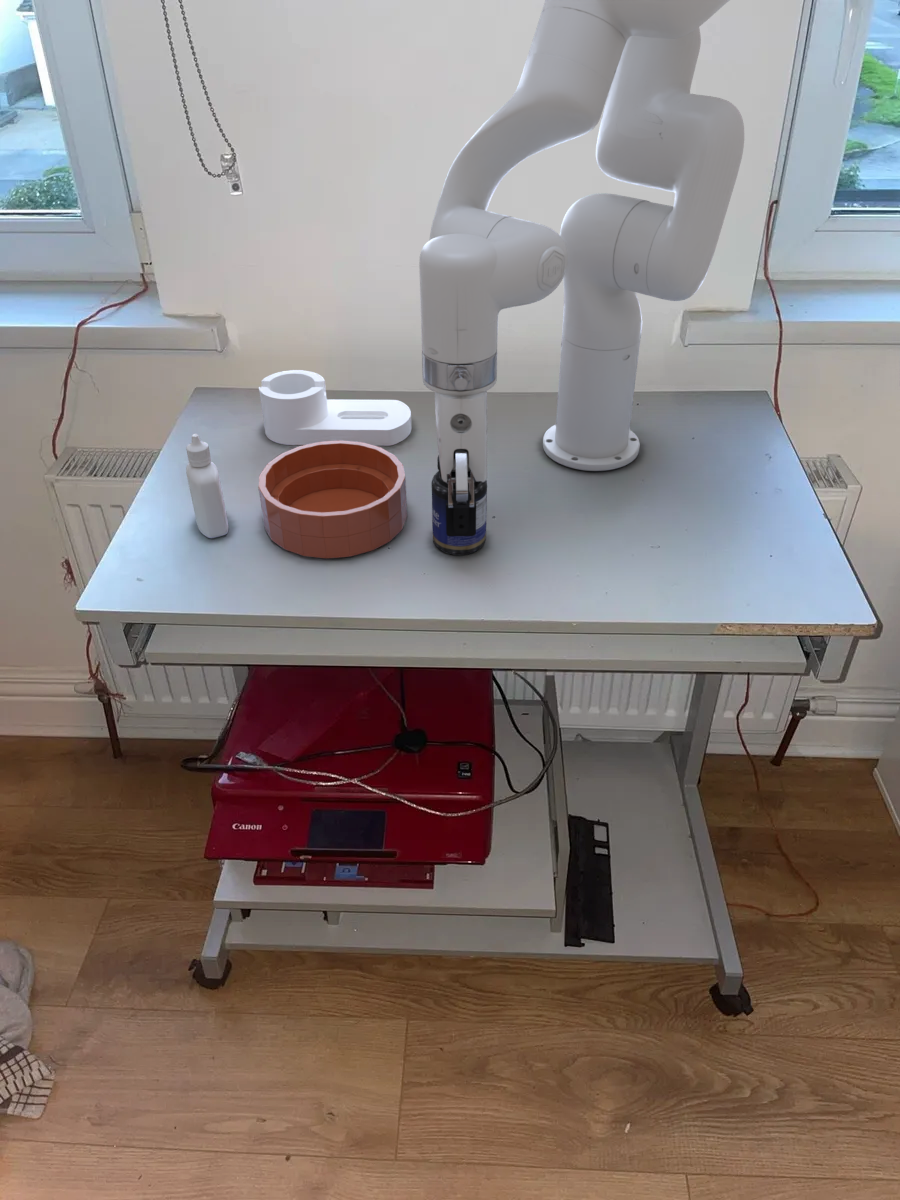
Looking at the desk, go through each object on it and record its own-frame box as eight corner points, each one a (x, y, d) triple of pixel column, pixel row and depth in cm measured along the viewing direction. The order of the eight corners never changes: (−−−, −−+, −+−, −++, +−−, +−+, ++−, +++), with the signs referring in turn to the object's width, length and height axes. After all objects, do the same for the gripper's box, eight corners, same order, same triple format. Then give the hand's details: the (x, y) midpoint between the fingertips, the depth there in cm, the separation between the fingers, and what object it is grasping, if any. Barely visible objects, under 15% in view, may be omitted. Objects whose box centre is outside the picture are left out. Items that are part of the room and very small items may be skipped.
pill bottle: (431, 527, 110) (429, 443, 103) (483, 525, 111) (484, 441, 104) (434, 558, 105) (432, 472, 99) (488, 555, 106) (490, 470, 99)
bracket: (259, 444, 126) (252, 398, 122) (271, 414, 133) (265, 369, 129) (409, 445, 126) (407, 399, 121) (413, 415, 132) (411, 370, 128)
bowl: (319, 471, 121) (314, 428, 117) (432, 504, 114) (431, 460, 111) (236, 536, 109) (228, 491, 106) (356, 576, 103) (352, 531, 99)
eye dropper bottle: (237, 513, 113) (220, 423, 106) (225, 540, 109) (208, 448, 101) (201, 512, 113) (182, 422, 106) (188, 539, 109) (167, 447, 101)
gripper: (502, 405, 88) (498, 559, 99) (492, 331, 102) (489, 473, 113) (421, 406, 88) (426, 560, 99) (422, 332, 102) (426, 474, 113)
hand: (459, 513), depth 106 cm, fingers open, 7 cm apart
